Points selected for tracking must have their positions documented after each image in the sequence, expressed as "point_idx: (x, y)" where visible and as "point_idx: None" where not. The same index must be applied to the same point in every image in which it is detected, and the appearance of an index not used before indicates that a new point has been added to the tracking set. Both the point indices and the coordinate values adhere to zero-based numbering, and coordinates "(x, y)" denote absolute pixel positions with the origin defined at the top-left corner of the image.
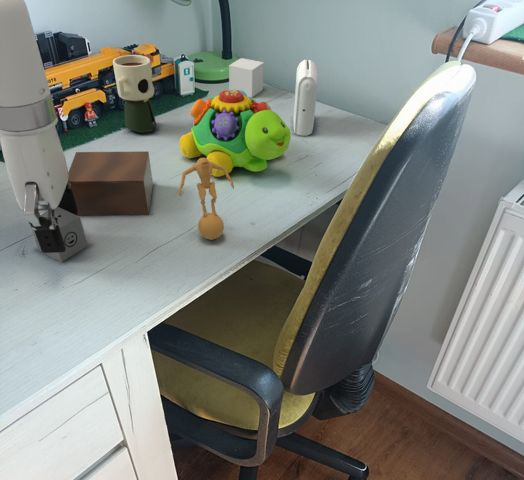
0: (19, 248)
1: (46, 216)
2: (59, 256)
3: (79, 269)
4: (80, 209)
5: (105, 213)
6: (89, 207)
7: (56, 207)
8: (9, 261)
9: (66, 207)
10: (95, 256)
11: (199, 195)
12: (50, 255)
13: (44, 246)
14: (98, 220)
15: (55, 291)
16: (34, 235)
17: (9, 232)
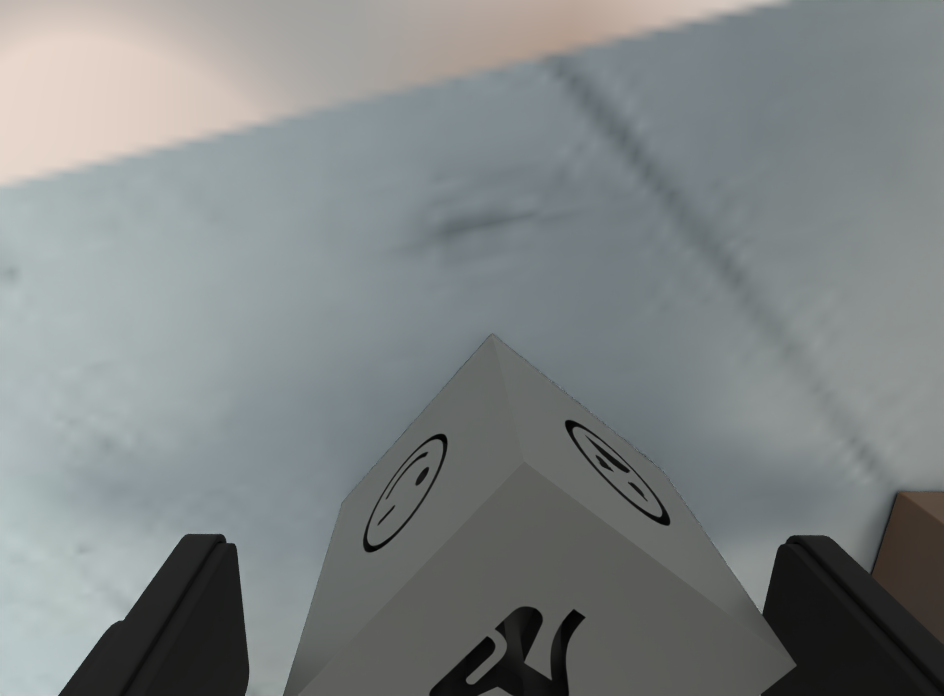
0: (536, 178)
1: (601, 616)
2: (338, 524)
3: (270, 603)
4: (921, 571)
5: None
6: None
7: (767, 672)
8: (359, 134)
9: (802, 683)
10: None
11: None
12: (406, 432)
13: (97, 647)
14: None
15: (34, 513)
16: (493, 396)
17: (796, 33)
